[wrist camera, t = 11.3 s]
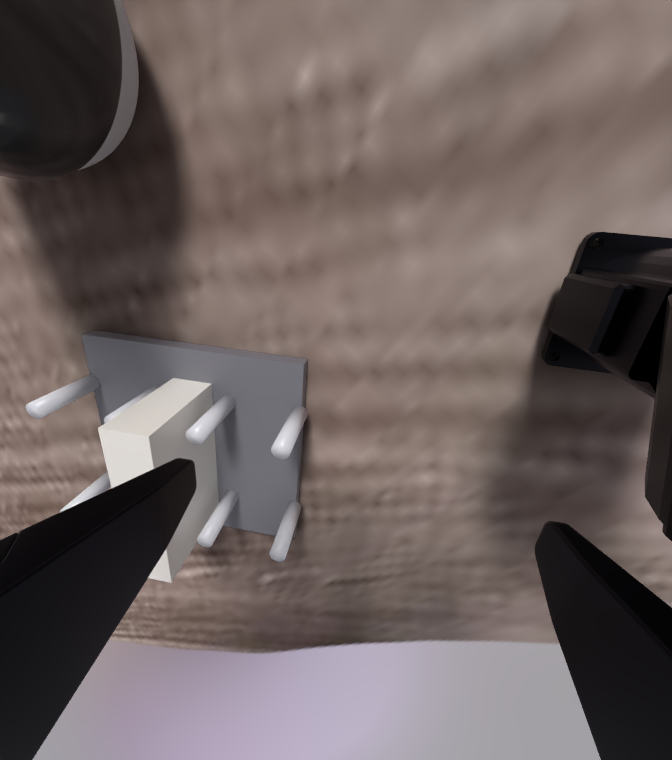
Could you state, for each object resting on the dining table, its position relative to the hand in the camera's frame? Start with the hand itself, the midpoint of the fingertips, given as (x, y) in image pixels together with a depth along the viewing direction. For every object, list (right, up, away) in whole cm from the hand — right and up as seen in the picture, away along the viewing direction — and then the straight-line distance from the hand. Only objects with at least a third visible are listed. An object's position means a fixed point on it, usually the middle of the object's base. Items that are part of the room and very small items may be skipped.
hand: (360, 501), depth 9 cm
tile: (-10, -1, +14) cm, 17 cm away
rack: (-10, -1, +15) cm, 18 cm away
